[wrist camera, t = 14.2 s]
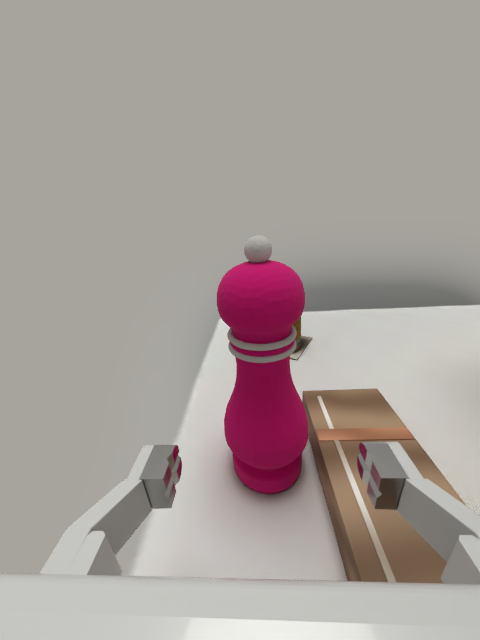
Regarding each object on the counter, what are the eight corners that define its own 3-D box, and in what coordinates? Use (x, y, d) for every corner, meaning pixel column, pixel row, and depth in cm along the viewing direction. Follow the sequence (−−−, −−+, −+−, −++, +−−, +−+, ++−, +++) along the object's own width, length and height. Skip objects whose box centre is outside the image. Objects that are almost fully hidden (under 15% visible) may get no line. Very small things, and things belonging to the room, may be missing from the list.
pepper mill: (319, 452, 23) (336, 229, 15) (280, 522, 18) (276, 239, 10) (258, 419, 27) (247, 233, 20) (213, 467, 22) (175, 242, 15)
